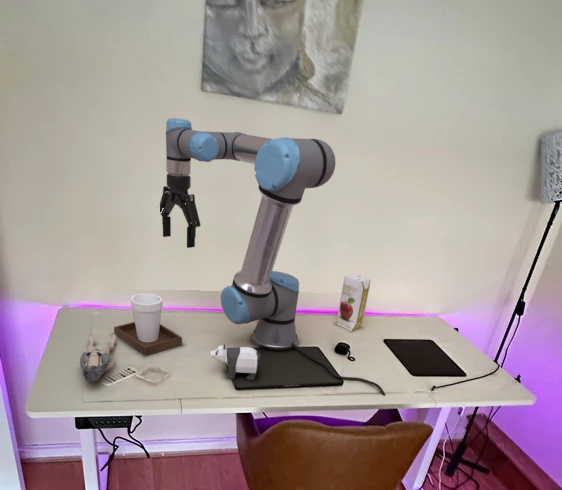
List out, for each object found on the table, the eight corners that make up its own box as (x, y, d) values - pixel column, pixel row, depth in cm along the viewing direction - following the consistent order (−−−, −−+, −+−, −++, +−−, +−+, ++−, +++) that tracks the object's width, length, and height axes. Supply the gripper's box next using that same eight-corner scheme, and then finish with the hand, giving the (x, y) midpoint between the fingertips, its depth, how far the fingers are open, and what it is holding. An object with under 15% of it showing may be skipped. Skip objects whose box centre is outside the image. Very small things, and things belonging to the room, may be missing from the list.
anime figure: (118, 328, 160) (109, 363, 134) (119, 350, 163) (111, 389, 137) (85, 327, 158) (70, 362, 132) (87, 350, 161) (72, 389, 135)
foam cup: (155, 346, 161) (154, 307, 154) (127, 341, 162) (125, 301, 155) (167, 334, 169) (166, 296, 162) (140, 329, 170) (139, 291, 163)
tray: (182, 345, 165) (182, 337, 164) (145, 356, 157) (144, 347, 155) (150, 325, 175) (150, 317, 174) (114, 334, 166) (113, 326, 165)
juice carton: (345, 319, 198) (354, 271, 188) (363, 328, 193) (374, 278, 183) (333, 324, 193) (342, 274, 183) (351, 332, 188) (361, 282, 178)
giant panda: (258, 371, 156) (261, 343, 151) (258, 381, 152) (261, 351, 146) (209, 368, 155) (210, 339, 149) (208, 377, 150) (209, 348, 145)
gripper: (212, 181, 160) (210, 250, 171) (165, 166, 173) (166, 231, 185) (193, 182, 155) (192, 253, 166) (146, 167, 169) (148, 233, 180)
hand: (178, 241), depth 176 cm, fingers open, 13 cm apart
